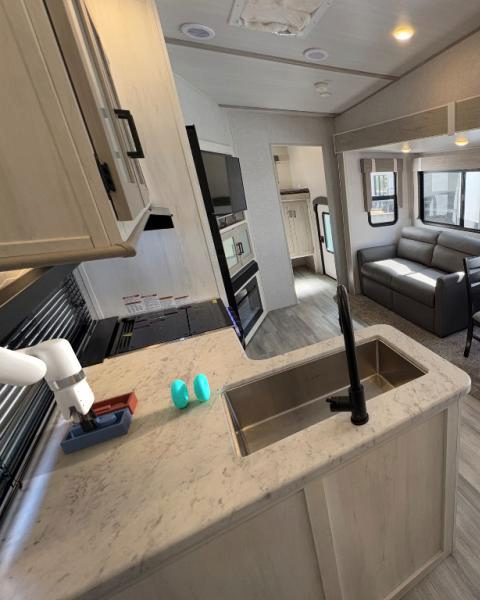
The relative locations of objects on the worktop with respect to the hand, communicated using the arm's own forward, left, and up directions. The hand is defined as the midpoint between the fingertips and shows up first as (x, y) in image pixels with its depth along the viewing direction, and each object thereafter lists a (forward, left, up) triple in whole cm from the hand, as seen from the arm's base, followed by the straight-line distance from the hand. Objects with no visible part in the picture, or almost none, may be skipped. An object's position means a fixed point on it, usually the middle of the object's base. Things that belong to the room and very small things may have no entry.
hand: (92, 427), depth 98 cm
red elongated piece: (+1, +11, -3) cm, 11 cm away
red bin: (+1, +11, -4) cm, 12 cm away
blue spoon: (+1, 0, 0) cm, 1 cm away
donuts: (+27, +1, -4) cm, 27 cm away
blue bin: (+1, 0, -4) cm, 4 cm away
